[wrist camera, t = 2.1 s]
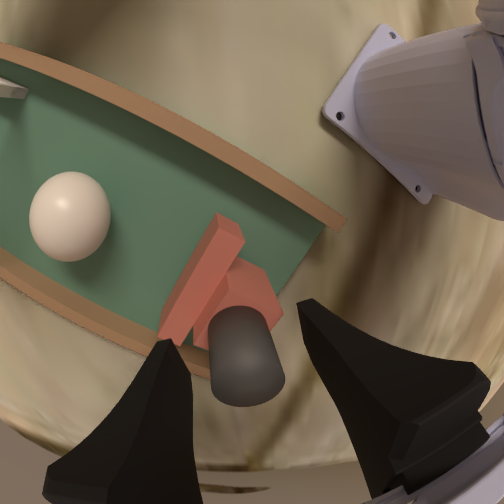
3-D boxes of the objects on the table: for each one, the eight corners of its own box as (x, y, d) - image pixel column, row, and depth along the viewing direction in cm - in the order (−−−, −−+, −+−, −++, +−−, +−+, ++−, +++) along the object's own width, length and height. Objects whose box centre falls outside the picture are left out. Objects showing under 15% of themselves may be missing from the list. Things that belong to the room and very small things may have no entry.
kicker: (280, 246, 15) (336, 331, 8) (221, 332, 16) (236, 435, 10) (216, 210, 13) (227, 283, 7) (162, 306, 15) (146, 411, 8)
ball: (133, 187, 13) (108, 207, 9) (104, 255, 14) (77, 293, 10) (69, 153, 11) (27, 163, 8) (46, 222, 12) (6, 250, 9)
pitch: (327, 206, 16) (346, 219, 13) (221, 357, 19) (224, 383, 16) (2, 43, 8) (-19, 37, 6) (-49, 208, 11) (-70, 219, 9)
